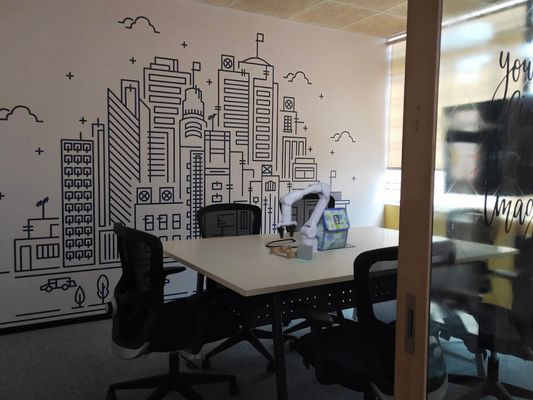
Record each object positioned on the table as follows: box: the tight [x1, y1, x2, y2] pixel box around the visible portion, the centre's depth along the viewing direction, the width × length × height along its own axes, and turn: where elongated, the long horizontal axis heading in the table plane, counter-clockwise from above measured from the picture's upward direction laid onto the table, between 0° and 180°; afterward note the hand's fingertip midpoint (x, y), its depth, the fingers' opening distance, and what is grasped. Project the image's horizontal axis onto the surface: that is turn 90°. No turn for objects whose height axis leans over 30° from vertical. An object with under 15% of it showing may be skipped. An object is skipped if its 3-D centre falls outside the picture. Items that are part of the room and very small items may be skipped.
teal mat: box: [291, 257, 319, 263], centre depth 248 cm, size 12×9×1 cm
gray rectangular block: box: [296, 243, 313, 262], centre depth 248 cm, size 4×8×8 cm, turn 51°
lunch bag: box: [315, 207, 351, 251], centre depth 283 cm, size 22×17×26 cm
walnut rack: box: [269, 244, 297, 260], centre depth 259 cm, size 16×16×4 cm
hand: (286, 237), depth 264 cm, fingers open, 7 cm apart
